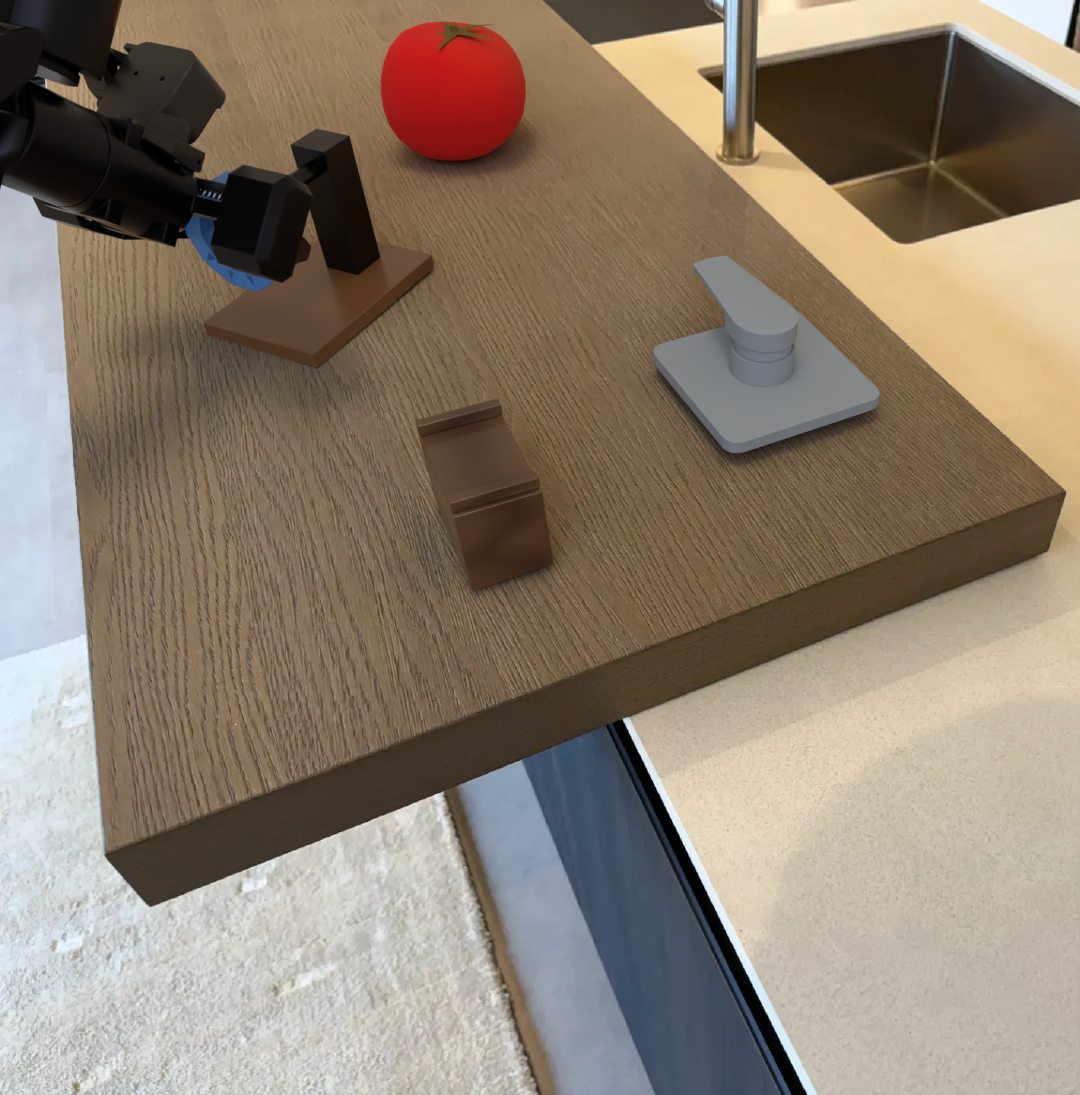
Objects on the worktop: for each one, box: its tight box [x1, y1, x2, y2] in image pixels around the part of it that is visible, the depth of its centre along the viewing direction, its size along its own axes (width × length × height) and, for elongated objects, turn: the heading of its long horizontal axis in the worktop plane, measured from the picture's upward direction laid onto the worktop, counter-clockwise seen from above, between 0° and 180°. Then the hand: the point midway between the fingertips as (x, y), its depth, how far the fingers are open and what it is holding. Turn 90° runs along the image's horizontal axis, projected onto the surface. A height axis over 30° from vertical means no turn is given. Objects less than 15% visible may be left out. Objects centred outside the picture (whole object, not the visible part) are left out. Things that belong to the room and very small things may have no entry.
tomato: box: [380, 21, 527, 162], centre depth 95 cm, size 12×14×11 cm
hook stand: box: [202, 128, 435, 368], centre depth 77 cm, size 15×10×11 cm, turn 158°
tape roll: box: [184, 170, 298, 292], centre depth 71 cm, size 3×8×7 cm, turn 68°
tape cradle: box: [414, 398, 554, 591], centre depth 61 cm, size 5×8×7 cm, turn 25°
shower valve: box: [652, 255, 881, 454], centre depth 73 cm, size 12×6×15 cm
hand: (262, 241), depth 73 cm, fingers closed on tape roll, 7 cm apart
